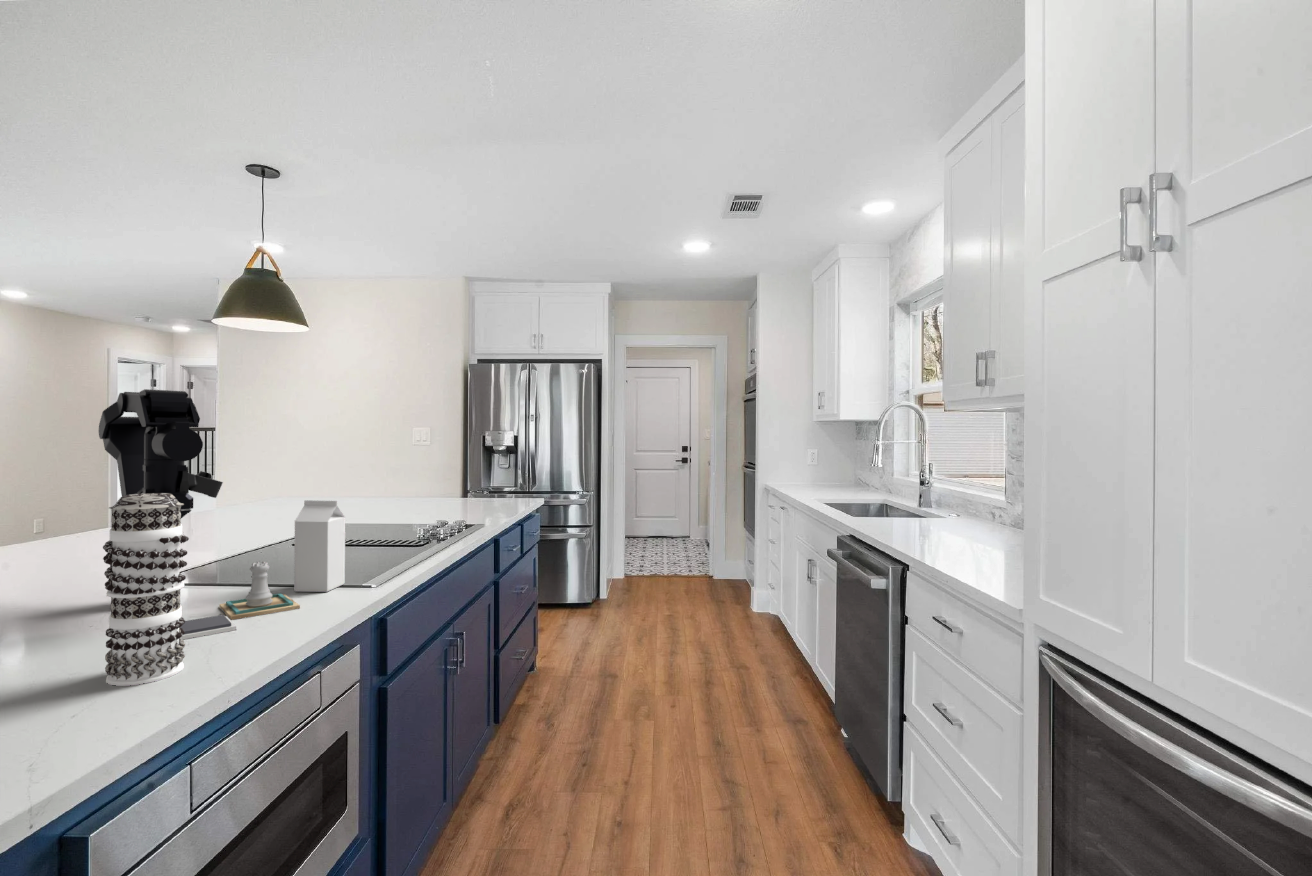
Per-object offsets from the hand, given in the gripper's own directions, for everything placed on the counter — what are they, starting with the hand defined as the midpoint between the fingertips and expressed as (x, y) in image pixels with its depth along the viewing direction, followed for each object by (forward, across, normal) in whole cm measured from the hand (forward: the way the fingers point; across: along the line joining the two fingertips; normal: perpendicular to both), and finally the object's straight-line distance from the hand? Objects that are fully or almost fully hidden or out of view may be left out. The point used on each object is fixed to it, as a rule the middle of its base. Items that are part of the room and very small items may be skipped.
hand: (164, 545), depth 111 cm
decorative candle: (+13, -31, +5) cm, 34 cm away
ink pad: (+13, -13, -4) cm, 19 cm away
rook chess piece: (+13, -4, -14) cm, 19 cm away
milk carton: (+13, +4, -27) cm, 30 cm away
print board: (+13, -4, -14) cm, 20 cm away
